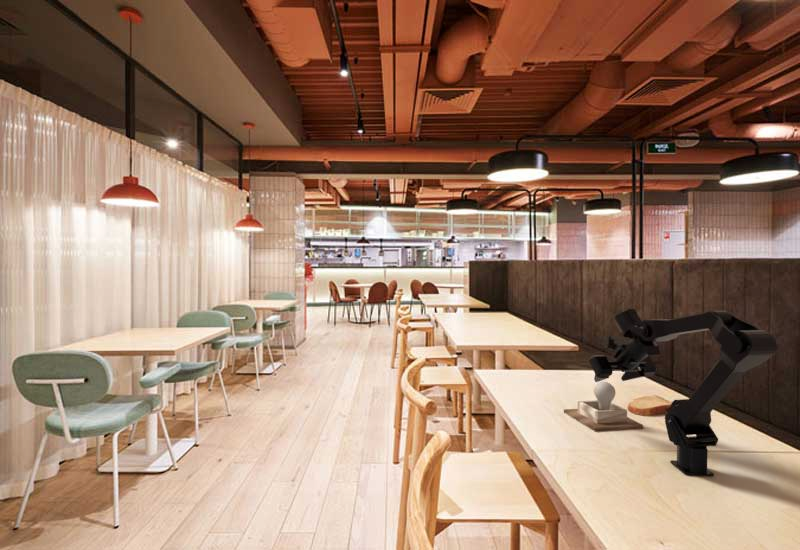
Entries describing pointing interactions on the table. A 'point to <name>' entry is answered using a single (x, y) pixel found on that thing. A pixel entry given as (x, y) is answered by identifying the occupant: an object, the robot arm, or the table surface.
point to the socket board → (602, 417)
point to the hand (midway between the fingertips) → (608, 380)
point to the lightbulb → (604, 394)
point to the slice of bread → (649, 406)
